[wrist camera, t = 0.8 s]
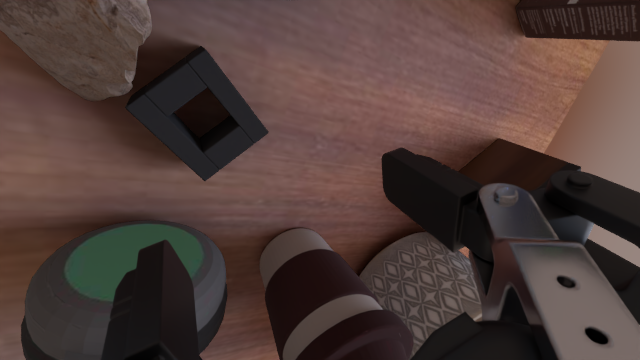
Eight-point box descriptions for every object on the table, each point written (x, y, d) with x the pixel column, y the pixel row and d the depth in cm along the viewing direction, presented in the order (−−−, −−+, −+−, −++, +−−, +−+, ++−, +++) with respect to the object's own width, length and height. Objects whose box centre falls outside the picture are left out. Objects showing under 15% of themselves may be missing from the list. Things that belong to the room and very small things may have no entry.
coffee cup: (286, 199, 27) (378, 339, 15) (349, 235, 33) (451, 356, 21) (224, 276, 28) (264, 466, 16) (296, 298, 34) (364, 448, 22)
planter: (394, 211, 34) (487, 290, 24) (457, 241, 44) (543, 307, 34) (322, 313, 37) (377, 421, 27) (396, 320, 47) (458, 403, 37)
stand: (440, 186, 36) (498, 221, 30) (499, 137, 37) (568, 162, 30) (454, 229, 42) (505, 266, 36) (505, 187, 43) (563, 216, 36)
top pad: (130, 96, 18) (124, 107, 16) (201, 45, 19) (205, 48, 16) (201, 164, 22) (205, 181, 20) (258, 121, 23) (269, 132, 20)
